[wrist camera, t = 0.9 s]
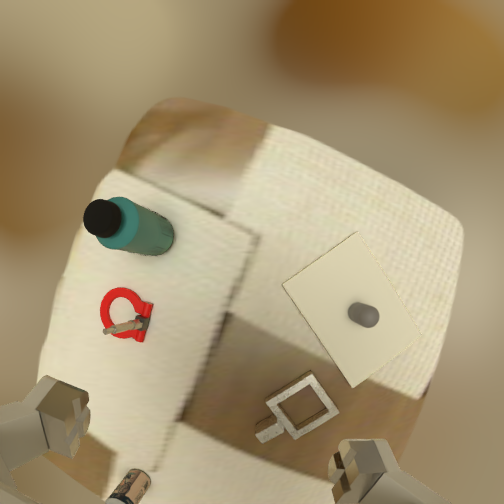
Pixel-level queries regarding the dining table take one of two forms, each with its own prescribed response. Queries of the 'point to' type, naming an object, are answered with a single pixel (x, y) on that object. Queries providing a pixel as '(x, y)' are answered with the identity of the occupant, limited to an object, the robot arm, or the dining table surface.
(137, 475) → the beer can
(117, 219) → the beverage bottle
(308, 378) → the steel link
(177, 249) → the dining table surface
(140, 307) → the tow hook
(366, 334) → the board
